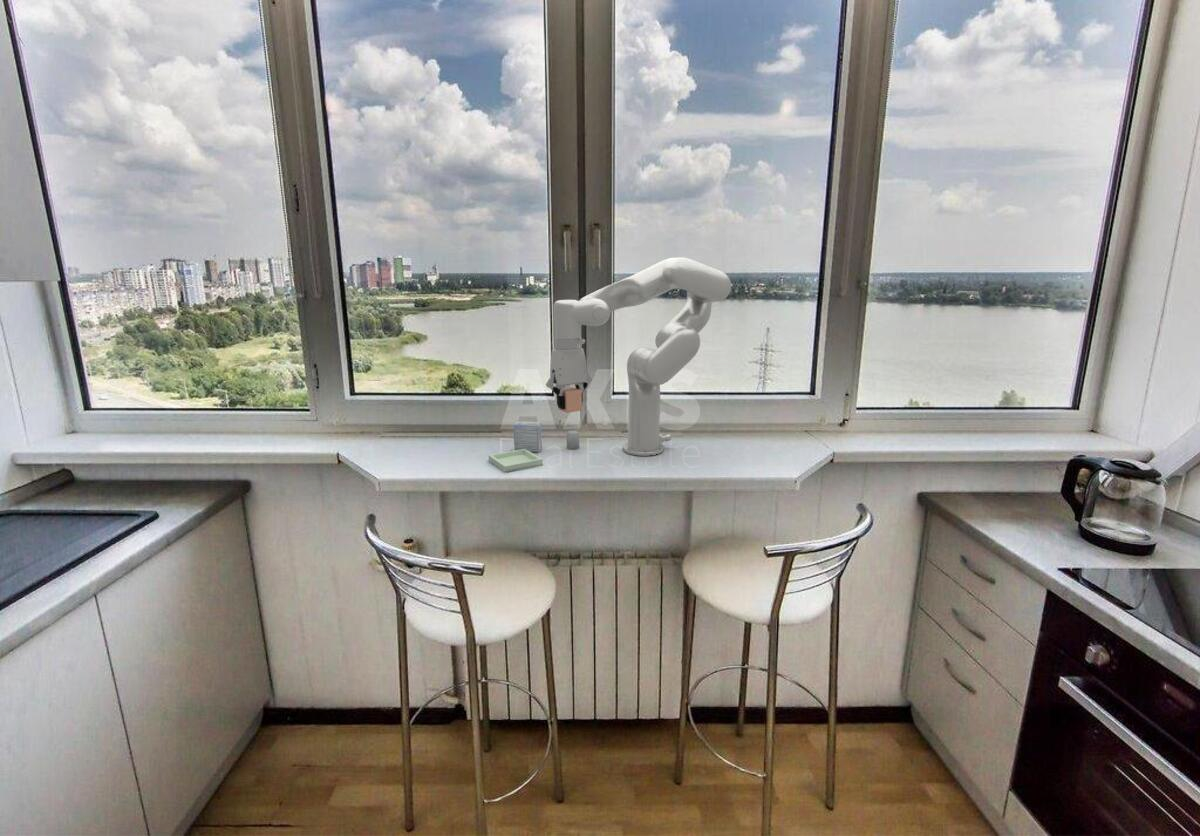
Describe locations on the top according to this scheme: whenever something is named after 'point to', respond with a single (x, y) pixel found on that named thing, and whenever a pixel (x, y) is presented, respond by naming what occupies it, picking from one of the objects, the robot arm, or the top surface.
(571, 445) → the grey tub
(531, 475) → the top surface
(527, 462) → the tray
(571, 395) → the terracotta block
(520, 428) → the medicine box
